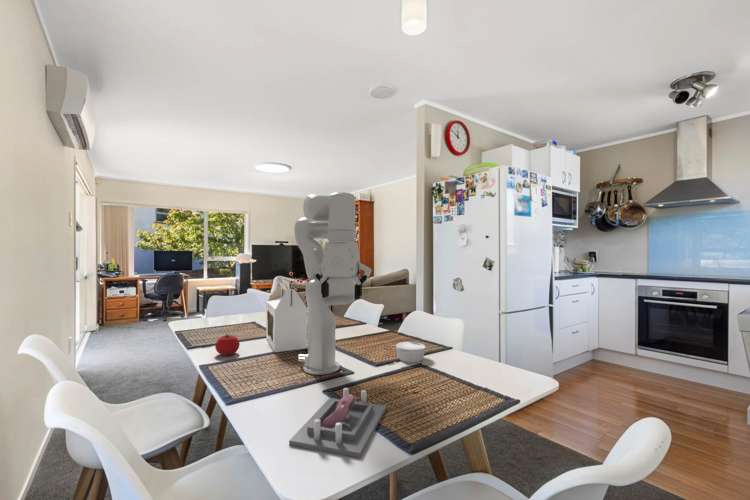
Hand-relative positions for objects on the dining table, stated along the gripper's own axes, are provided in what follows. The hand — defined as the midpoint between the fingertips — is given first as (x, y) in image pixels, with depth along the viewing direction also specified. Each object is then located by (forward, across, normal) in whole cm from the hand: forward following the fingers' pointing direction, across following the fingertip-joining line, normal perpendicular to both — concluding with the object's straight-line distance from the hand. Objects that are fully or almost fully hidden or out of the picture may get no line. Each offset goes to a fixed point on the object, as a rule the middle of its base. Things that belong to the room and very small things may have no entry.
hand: (341, 297), depth 98 cm
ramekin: (+29, +13, +40) cm, 51 cm away
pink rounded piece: (+28, +6, -14) cm, 31 cm away
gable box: (+29, -43, +44) cm, 68 cm away
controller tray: (+28, +6, -14) cm, 32 cm away
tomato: (+28, -57, +24) cm, 68 cm away
